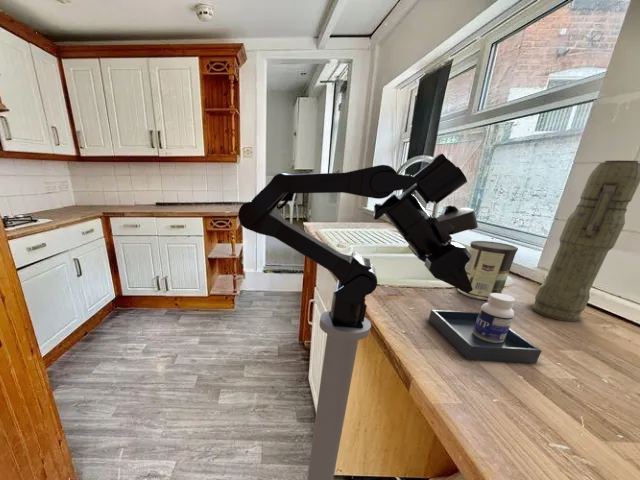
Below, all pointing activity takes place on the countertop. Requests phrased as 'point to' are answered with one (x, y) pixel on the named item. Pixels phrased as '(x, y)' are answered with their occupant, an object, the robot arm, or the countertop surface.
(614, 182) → the stone statue
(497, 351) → the tray
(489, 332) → the pill bottle
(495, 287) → the coffee can
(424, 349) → the countertop surface
